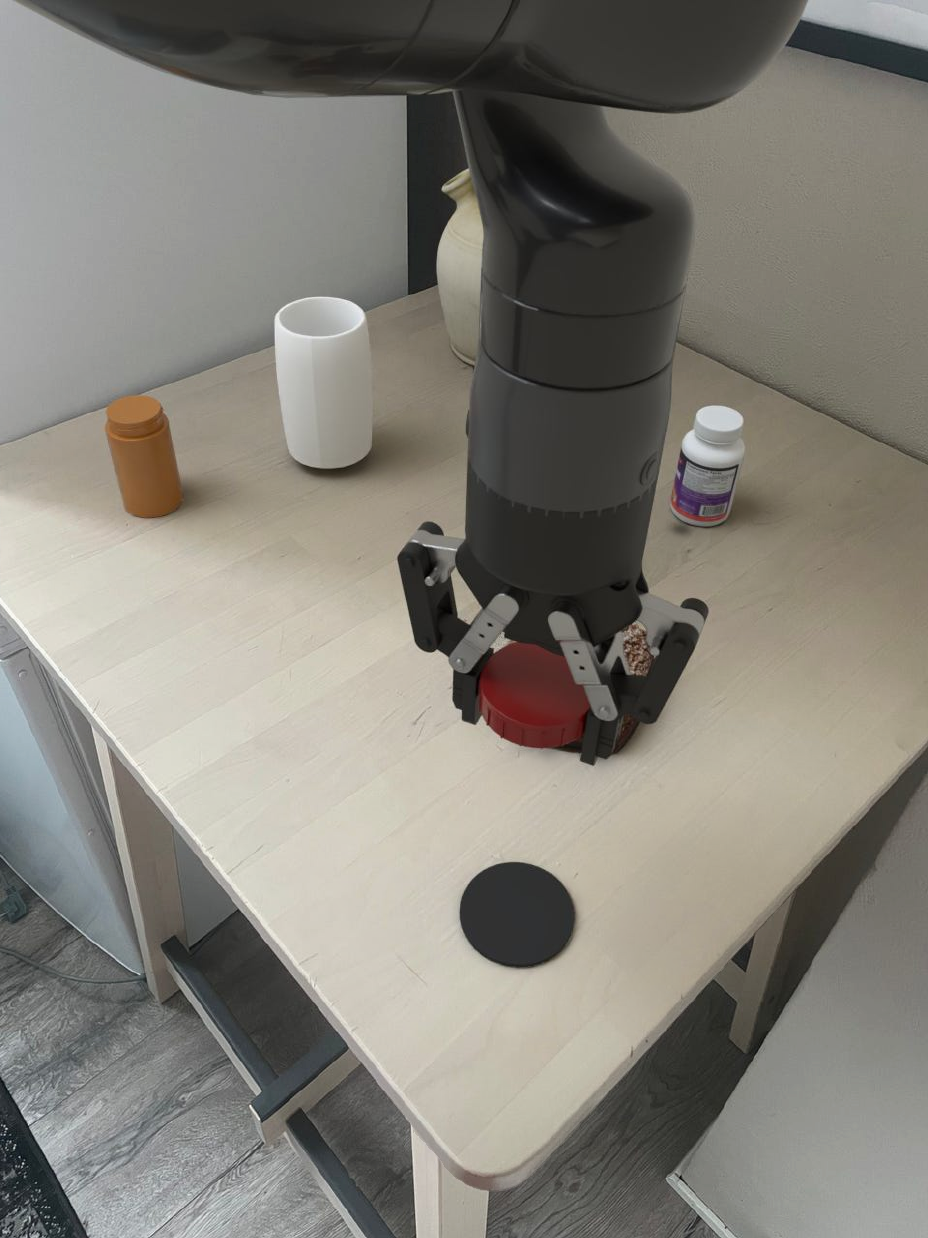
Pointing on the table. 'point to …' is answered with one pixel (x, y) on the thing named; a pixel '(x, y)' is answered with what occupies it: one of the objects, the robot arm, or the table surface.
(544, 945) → the coaster
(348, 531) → the table surface
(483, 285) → the robot arm
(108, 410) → the jam jar
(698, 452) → the pill bottle
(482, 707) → the jar lid
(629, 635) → the pastry
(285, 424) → the cup
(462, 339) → the jug
